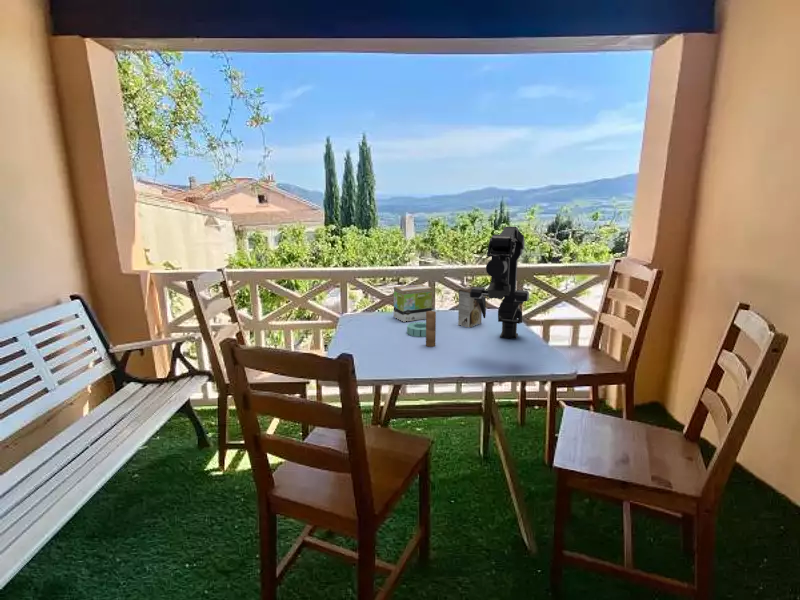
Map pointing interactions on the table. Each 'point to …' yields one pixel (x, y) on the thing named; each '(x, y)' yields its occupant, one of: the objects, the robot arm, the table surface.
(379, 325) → the table surface
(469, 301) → the coffee box
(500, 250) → the robot arm
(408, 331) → the teal bead
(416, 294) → the tea box
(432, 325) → the walnut peg
